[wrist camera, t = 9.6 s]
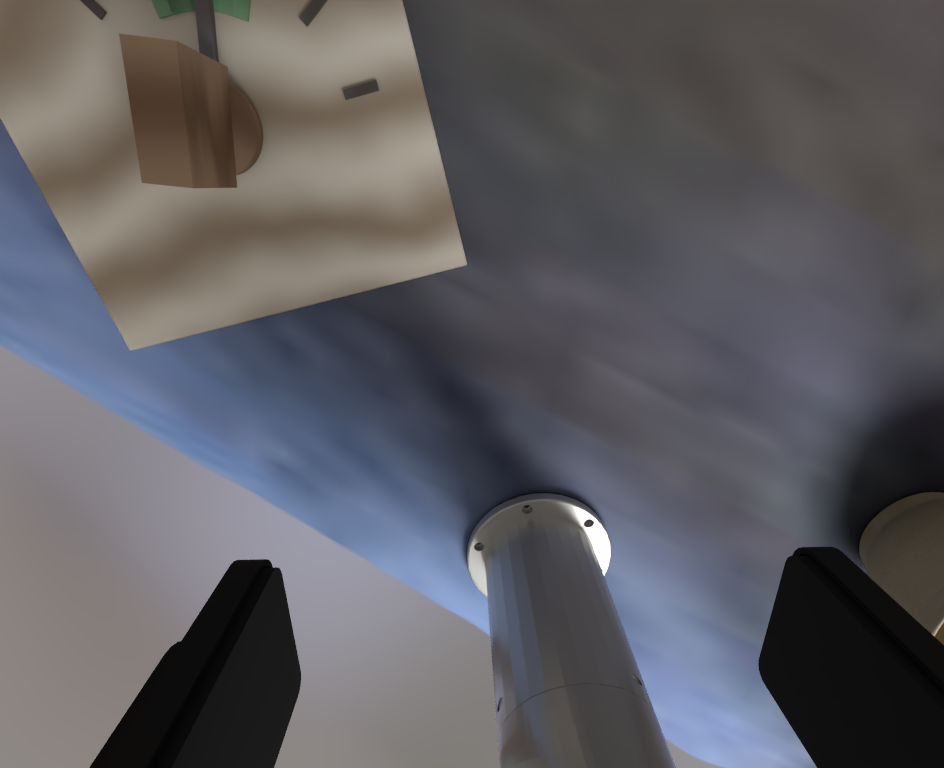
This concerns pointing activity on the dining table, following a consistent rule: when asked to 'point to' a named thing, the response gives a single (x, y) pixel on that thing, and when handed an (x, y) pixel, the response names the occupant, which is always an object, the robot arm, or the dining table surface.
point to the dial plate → (258, 189)
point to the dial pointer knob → (188, 110)
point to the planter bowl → (910, 556)
